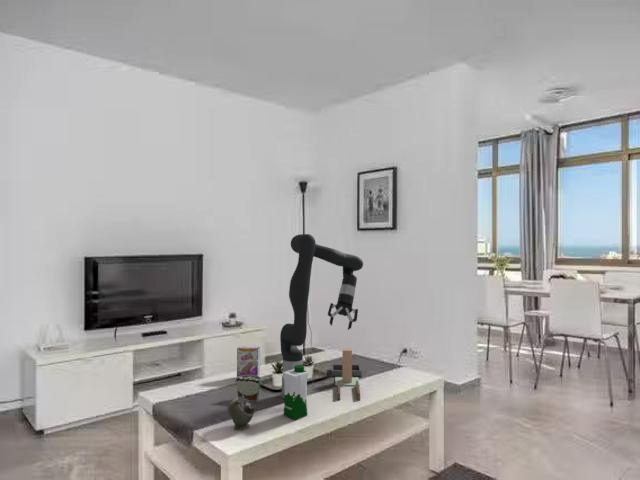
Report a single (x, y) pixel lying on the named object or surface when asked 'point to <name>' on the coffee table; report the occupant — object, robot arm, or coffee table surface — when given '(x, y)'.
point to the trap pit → (337, 370)
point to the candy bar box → (248, 360)
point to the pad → (346, 382)
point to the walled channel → (356, 390)
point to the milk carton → (295, 392)
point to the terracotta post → (347, 365)
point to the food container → (248, 386)
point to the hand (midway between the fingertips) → (339, 327)
